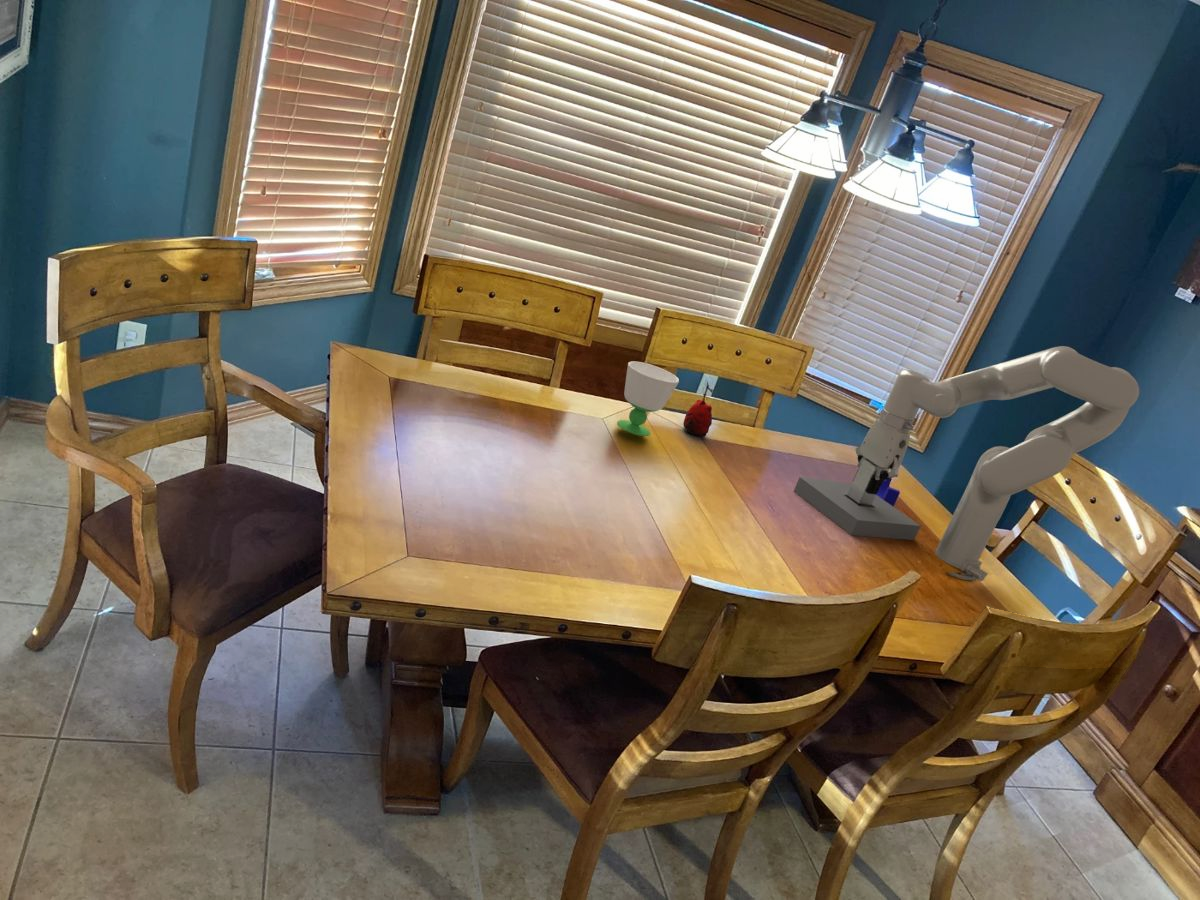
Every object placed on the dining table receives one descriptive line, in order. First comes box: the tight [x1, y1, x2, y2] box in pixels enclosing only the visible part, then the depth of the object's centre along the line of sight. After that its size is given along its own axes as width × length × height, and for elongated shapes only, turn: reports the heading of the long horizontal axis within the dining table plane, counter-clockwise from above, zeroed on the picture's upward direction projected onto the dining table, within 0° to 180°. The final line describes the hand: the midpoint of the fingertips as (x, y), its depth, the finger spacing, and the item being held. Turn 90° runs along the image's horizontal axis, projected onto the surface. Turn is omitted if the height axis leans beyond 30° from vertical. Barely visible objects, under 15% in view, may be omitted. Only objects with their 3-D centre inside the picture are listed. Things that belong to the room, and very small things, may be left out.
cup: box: [616, 360, 680, 437], centre depth 240 cm, size 14×14×16 cm
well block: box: [793, 476, 922, 541], centre depth 233 cm, size 22×22×4 cm
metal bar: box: [847, 459, 883, 505], centre depth 231 cm, size 4×4×10 cm
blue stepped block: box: [876, 478, 901, 508], centre depth 251 cm, size 12×4×6 cm, turn 175°
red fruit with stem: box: [682, 381, 714, 437], centre depth 255 cm, size 8×7×15 cm
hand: (864, 487), depth 231 cm, fingers closed on metal bar, 4 cm apart
